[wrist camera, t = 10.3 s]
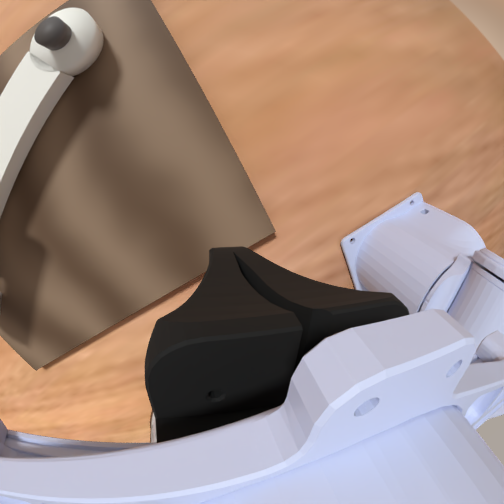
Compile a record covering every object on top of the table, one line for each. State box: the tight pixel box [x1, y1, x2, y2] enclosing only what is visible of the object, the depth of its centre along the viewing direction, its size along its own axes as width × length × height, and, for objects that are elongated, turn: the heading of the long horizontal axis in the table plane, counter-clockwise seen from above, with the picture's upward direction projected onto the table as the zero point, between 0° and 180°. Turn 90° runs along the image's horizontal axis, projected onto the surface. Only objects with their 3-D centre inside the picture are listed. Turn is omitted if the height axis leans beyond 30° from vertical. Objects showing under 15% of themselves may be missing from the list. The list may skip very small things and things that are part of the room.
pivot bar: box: [0, 8, 103, 218], centre depth 12 cm, size 18×4×2 cm, turn 139°
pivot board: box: [0, 0, 276, 370], centre depth 14 cm, size 26×22×6 cm
